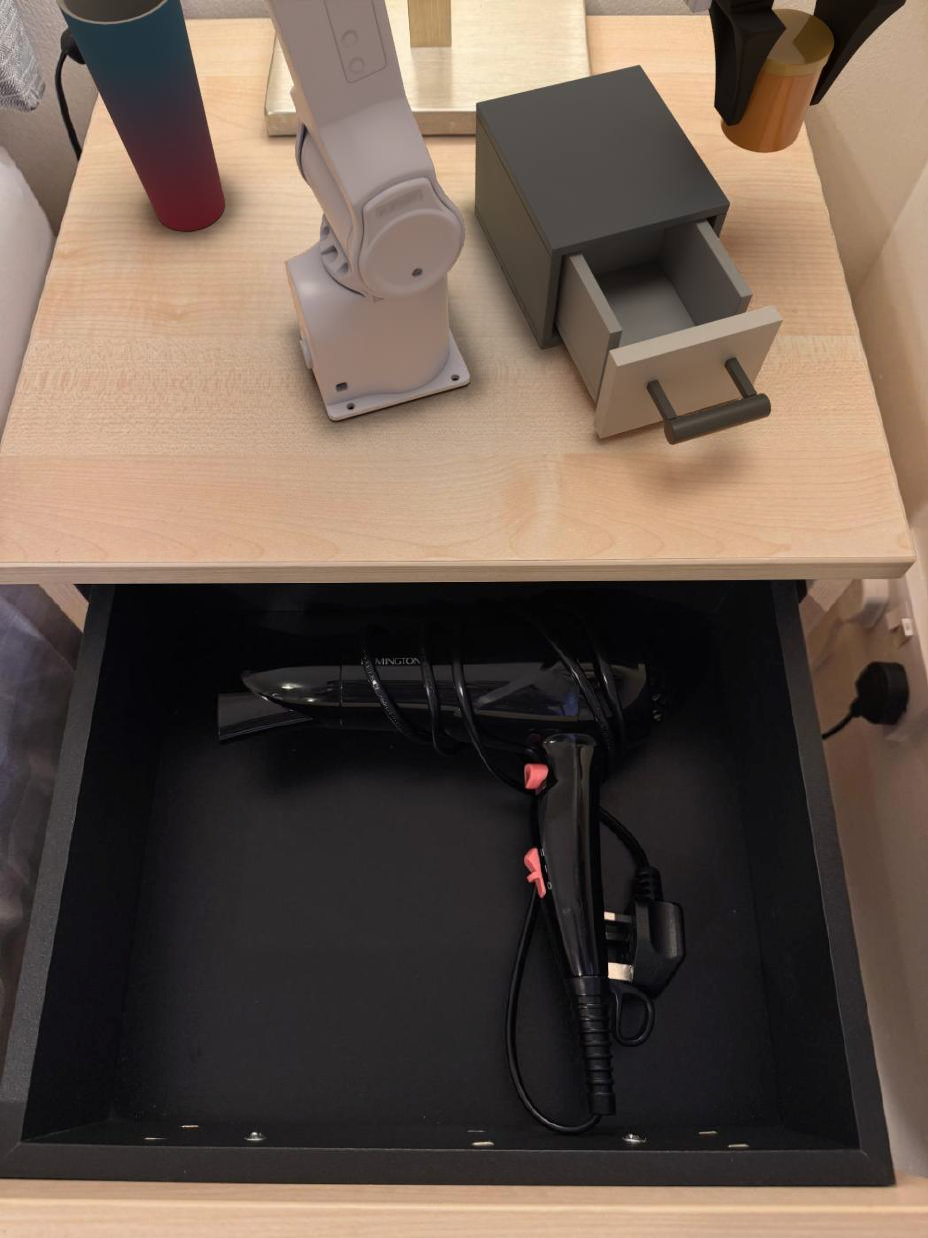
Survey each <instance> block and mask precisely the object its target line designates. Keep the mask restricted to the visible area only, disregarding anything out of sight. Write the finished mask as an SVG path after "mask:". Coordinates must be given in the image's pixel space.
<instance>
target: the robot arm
mask: <svg viewBox="0 0 928 1238" xmlns="http://www.w3.org/2000/svg"><path fill="white" fill-rule="evenodd" d="M682 1H683V2H684V4H685V5H686V6H687V7H688V8H689V11H691V12H692V14H695V13H699V12H703V11H704V12H705V11H708V15H709V20H710V25H711V26H710V27H711V31H712V38H713V39H712V40H713V46H714V47H713V48H714V61H715V62H714V64H715V65H714V66H715V67H714V68H715V69H714V70H715V73H714V74H715V75H714V76H715V79H714V99H713V108H714V109H715V110H716V112H717V113H718V114H719V116H720V118H721V117H722V119H723V120H724V122H725V123H726V125H727V126H733V125H737V124H739V122H740V121H741V119H742V117H743V115H744V113H745V111H746V109H747V106H748V103H749V100H750V97H751V94H752V91H753V88H754V85H755V82H756V80H757V77H758V75H759V73H760V70H761V68H762V66H763V64H764V62H765V60H766V59H767V57H768V55H769V53H770V51H771V50H772V48H773V47H774V45H775V44H776V42H777V41H778V39H779V38H780V37H781V35H782V34H783V33H784V31H785V30H786V29H787V28H786V27H785V25H784V24H783V23H782V21H781V20H780V19H779V17H778V16H777V15H776V14H775V12H774V11H773V10H772V9H773V7H774V3H775V0H682ZM906 2H907V0H815V5H814V9H813V14H812V15H813V16H815V17H817V18H819V19H820V20H822V21H823V22H824V23H825V24H826V25H827V26H828V27H829V28H830V30H831V31H832V33H833V36H834V47H833V50H832V53H831V55H830V58H829V60H828V62H827V63H826V64H825V66H824V68H823V71H822V74H821V76H820V79H819V82H818V84H817V87H816V89H815V92H814V95H813V97H812V100H811V103H810V105H809V107H812V106H816V105H820V103H821V101H822V100H823V99H824V97H825V96H826V94H827V93H828V91H829V90H830V89H831V87H832V86H833V84H834V82H835V81H837V78H838V77H839V75H840V74H841V73H842V72H843V70H844V69H845V68H846V66H847V64H849V62H850V61H851V59H852V58H853V57H854V55H855V54H856V53H857V51H859V49H860V48H861V47H862V46H863V45H864V43H865V42H866V41H867V40H868V39H869V38H870V37H871V36H872V35H873V34H874V33H875V32H876V31H877V29H878V28H880V27H881V26H882V24H884V23H885V22H886V21H887V20H888V19H889V18H891V16H892V15H894V14H895V13H896V12H897V11H899V10H900V9H901V8H902V7H904V6H905V4H906ZM264 3H265V6H266V9H267V12H268V14H269V17H270V20H271V23H272V26H273V29H274V31H275V34H276V38H277V40H278V43H279V46H280V49H281V51H282V54H283V57H284V61H285V64H286V66H287V70H288V72H289V75H290V78H291V81H292V84H293V86H292V87H291V89H290V91H289V94H290V95H289V96H290V98H291V100H292V104H293V106H294V109H295V113H296V118H297V119H296V120H297V128H296V130H297V131H296V138H295V143H294V144H295V145H294V157H295V162H296V166H297V169H298V171H299V173H300V175H301V177H302V179H303V180H304V182H305V183H306V185H308V187H309V188H310V189H311V191H312V193H313V195H314V197H315V199H316V200H317V202H318V204H319V206H320V208H321V210H322V218H321V223H320V230H319V240H318V241H317V242H316V243H315V244H313V245H312V246H310V248H308V249H306V250H304V251H303V252H300V253H299V254H296V255H293V256H292V257H289V258H288V259H286V260H284V267H285V273H286V277H287V280H288V285H289V289H290V294H291V299H292V301H293V302H292V303H293V306H294V310H295V313H296V319H297V322H298V327H299V334H300V337H301V339H300V340H299V344H300V347H301V351H302V355H303V358H304V361H305V365H306V367H307V369H309V370H311V369H312V372H313V374H314V378H315V381H316V384H317V387H318V389H319V392H320V396H321V398H322V401H323V403H324V407H325V409H326V412H327V415H328V418H329V419H330V420H332V421H340V420H343V419H347V418H351V417H354V416H359V415H363V414H367V413H369V412H372V411H377V410H380V409H384V408H387V407H391V406H394V405H398V404H402V403H406V402H409V401H413V400H415V399H416V400H417V399H420V398H423V397H427V396H430V395H435V394H438V393H441V392H445V391H448V390H452V389H456V388H459V387H462V386H467V385H468V384H469V383H470V381H471V374H470V372H469V369H468V367H467V364H466V362H465V359H464V358H463V355H462V353H461V350H460V349H459V346H458V343H457V341H456V339H455V336H454V335H453V332H452V330H451V328H450V321H449V320H450V316H449V277H448V276H449V275H448V274H449V273H450V271H451V270H452V268H453V267H454V265H455V264H456V263H457V262H458V259H459V257H460V256H461V254H462V250H463V248H464V245H465V240H466V225H465V220H464V217H463V214H462V212H461V211H460V209H459V208H458V206H457V205H456V204H455V203H454V201H452V199H451V198H450V197H449V196H448V195H447V194H446V192H445V190H444V189H443V188H442V186H441V185H440V183H439V181H438V179H437V178H438V177H437V174H436V168H435V165H434V162H433V160H432V157H431V155H430V152H429V150H428V148H427V144H426V142H425V140H424V138H423V137H424V136H423V135H422V132H421V130H420V128H419V127H420V126H419V125H418V122H417V119H416V118H415V115H414V112H413V110H412V108H411V105H410V103H409V99H408V97H407V94H406V90H405V85H404V81H403V76H402V71H401V68H400V63H399V58H398V54H397V49H396V45H395V44H396V43H395V41H394V36H393V32H392V27H391V26H392V25H391V21H390V17H389V13H388V9H387V4H386V1H385V0H264ZM453 379H454V380H453ZM455 379H456V380H455ZM350 408H352V409H350Z"/></svg>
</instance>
